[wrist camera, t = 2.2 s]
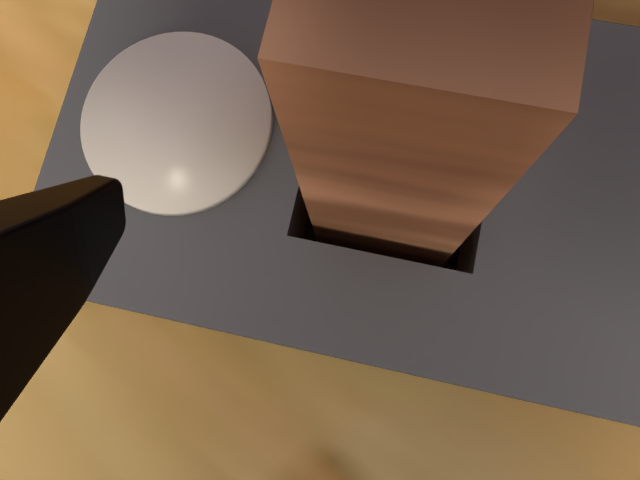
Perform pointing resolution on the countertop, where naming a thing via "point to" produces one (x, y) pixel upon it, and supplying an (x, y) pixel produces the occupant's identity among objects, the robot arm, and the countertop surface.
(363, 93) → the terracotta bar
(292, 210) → the holder block
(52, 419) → the countertop surface
